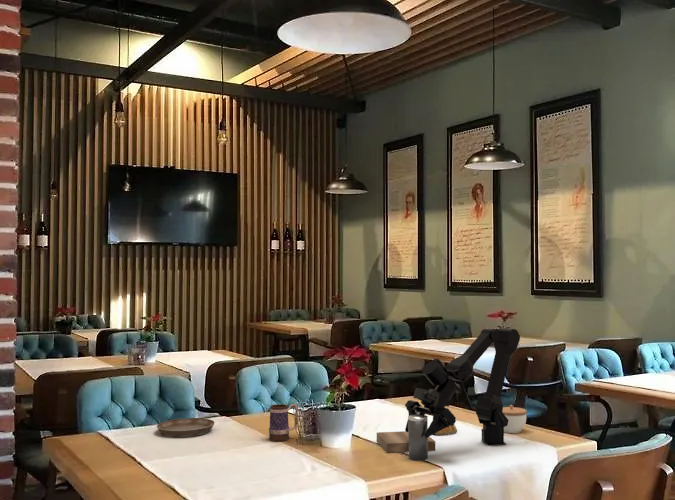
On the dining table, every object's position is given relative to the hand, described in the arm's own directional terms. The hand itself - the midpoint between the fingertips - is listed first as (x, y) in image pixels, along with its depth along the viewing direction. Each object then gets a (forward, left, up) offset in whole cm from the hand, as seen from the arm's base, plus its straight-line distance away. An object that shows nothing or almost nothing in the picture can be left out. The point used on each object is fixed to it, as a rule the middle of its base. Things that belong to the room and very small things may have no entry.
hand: (415, 434), depth 230 cm
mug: (+38, -33, -8) cm, 51 cm away
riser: (-1, -16, -8) cm, 18 cm away
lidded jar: (-44, -30, -8) cm, 54 cm away
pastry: (-19, -32, -8) cm, 38 cm away
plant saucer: (+72, -51, -8) cm, 89 cm away
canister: (-1, 0, -8) cm, 8 cm away
